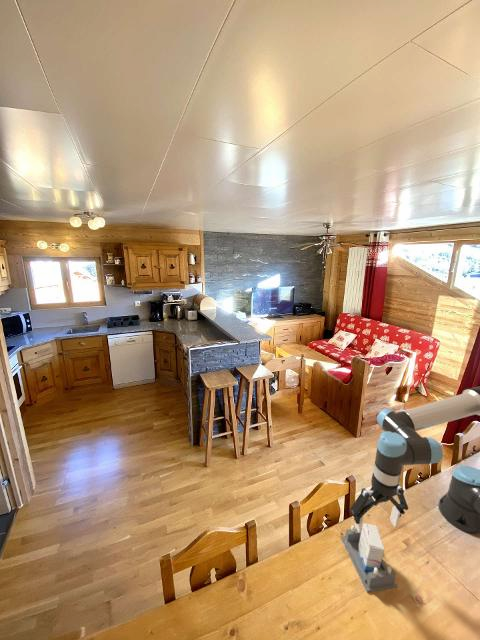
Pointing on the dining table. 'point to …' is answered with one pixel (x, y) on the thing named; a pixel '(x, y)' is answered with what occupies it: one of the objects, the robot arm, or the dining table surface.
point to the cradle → (369, 579)
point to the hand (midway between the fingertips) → (375, 526)
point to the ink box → (370, 547)
